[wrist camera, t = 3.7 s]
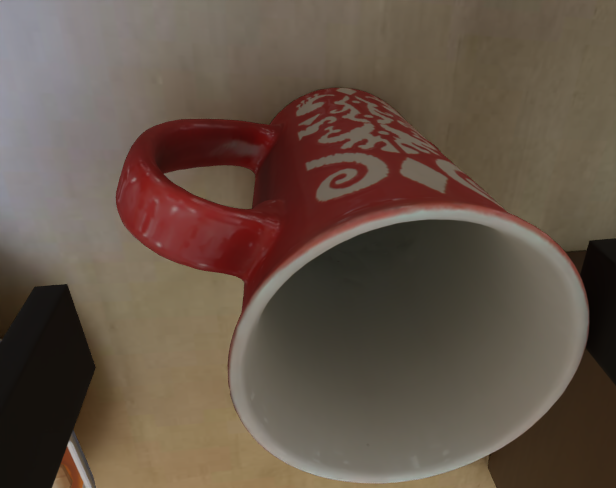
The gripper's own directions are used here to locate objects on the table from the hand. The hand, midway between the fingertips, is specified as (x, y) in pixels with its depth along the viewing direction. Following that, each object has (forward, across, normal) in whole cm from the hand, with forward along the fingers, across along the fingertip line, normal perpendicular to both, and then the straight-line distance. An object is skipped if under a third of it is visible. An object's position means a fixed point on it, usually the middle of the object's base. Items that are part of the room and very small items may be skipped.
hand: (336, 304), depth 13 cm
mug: (+12, 0, 0) cm, 12 cm away
